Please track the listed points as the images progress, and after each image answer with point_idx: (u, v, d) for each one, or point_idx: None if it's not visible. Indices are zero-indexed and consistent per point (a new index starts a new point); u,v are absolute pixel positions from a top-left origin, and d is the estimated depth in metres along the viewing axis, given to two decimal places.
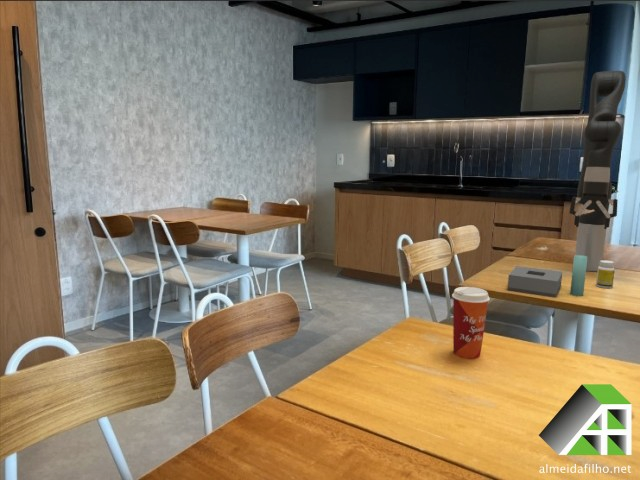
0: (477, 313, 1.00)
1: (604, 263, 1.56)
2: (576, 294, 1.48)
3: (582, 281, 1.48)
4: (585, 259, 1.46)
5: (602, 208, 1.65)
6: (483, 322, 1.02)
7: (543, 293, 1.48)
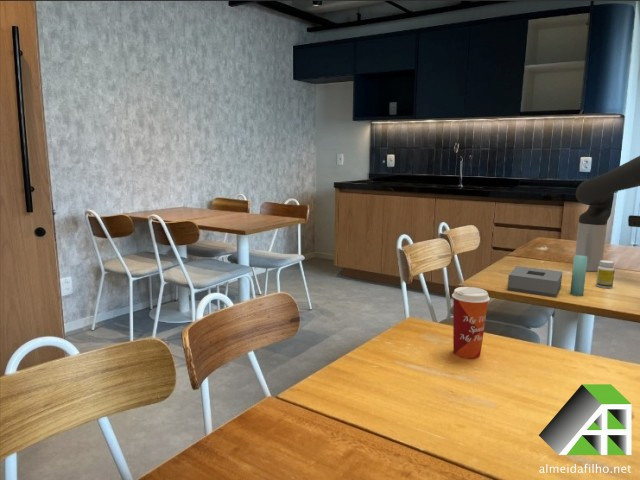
0: (477, 313, 1.00)
1: (604, 263, 1.56)
2: (576, 294, 1.48)
3: (582, 281, 1.48)
4: (585, 259, 1.46)
5: None
6: (483, 322, 1.02)
7: (543, 293, 1.48)
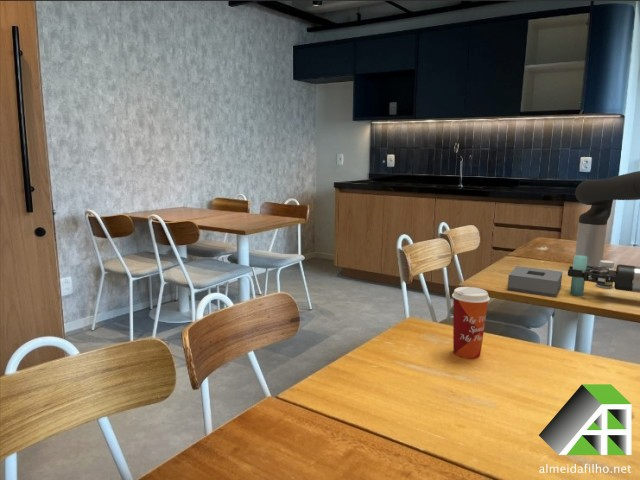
0: (477, 313, 1.00)
1: (604, 263, 1.56)
2: (576, 294, 1.48)
3: (582, 281, 1.47)
4: (585, 259, 1.46)
5: None
6: (483, 322, 1.02)
7: (543, 293, 1.48)
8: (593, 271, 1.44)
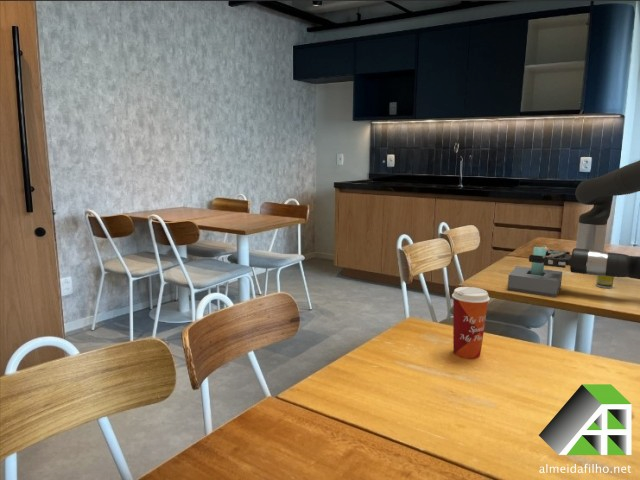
0: (477, 313, 1.00)
1: None
2: None
3: (540, 271, 1.54)
4: (544, 250, 1.53)
5: None
6: (483, 322, 1.02)
7: (543, 293, 1.48)
8: (553, 256, 1.48)
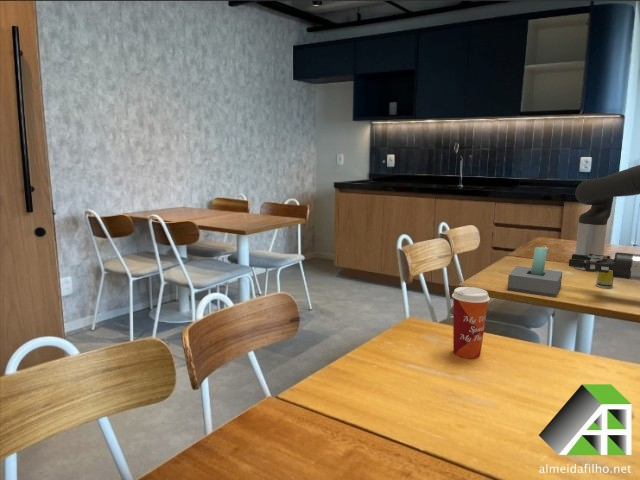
0: (477, 313, 1.00)
1: None
2: None
3: (541, 272, 1.53)
4: (545, 251, 1.52)
5: None
6: (483, 322, 1.02)
7: (543, 293, 1.48)
8: (594, 260, 1.43)
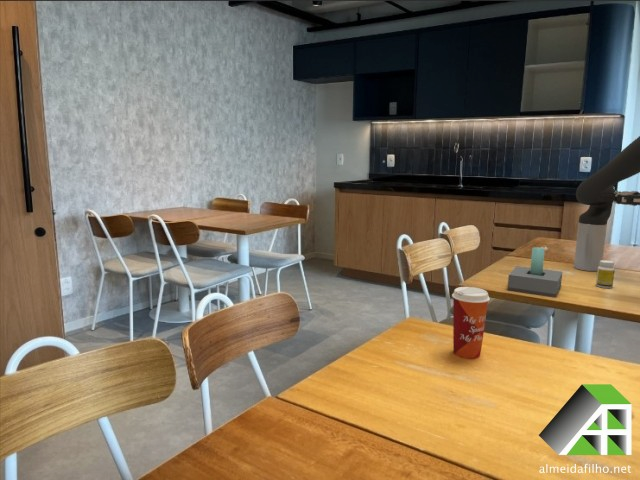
0: (477, 313, 1.00)
1: (604, 263, 1.56)
2: None
3: (539, 272, 1.53)
4: (542, 251, 1.52)
5: None
6: (483, 322, 1.02)
7: (543, 293, 1.48)
8: (626, 194, 1.40)
